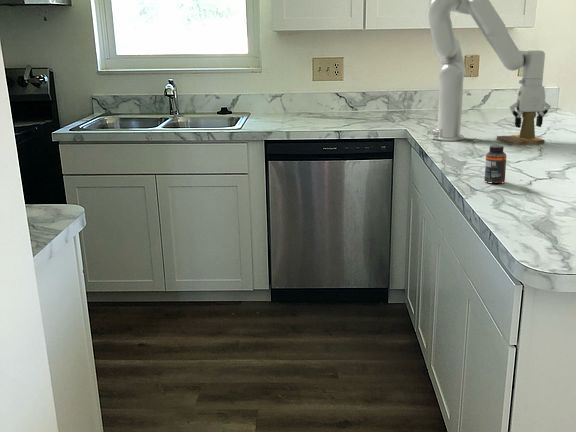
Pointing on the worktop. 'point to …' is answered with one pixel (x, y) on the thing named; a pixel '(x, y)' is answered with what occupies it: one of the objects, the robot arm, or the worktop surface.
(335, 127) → the worktop surface
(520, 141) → the board
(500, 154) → the supplement bottle
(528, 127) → the cork
